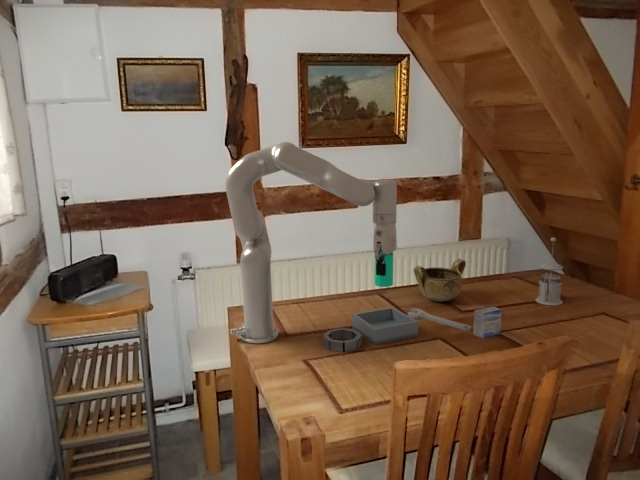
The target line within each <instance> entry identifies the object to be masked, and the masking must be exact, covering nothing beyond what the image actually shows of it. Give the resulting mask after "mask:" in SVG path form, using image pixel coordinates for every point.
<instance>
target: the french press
mask: <svg viewBox="0 0 640 480" xmlns="http://www.w3.org/2000/svg"><path fill="white" fill-rule="evenodd" d="M550 241H552V245H554V243H555V242H556V241H557V238H556V237H551V238H550ZM553 253H554V248H552V251H551V258H554V257H553V255H554V254H553ZM539 267H540V269H543V270H546V271H550V273H548V272H545V273H544V274H541V275H540V278H539V281H538V283H539V284H538V297H536V298H535V299H534V301H535V302H536V303H538V304H541V305H544V306H560V305H562V304H563V303H564V302H563V301H562V299H561V292H562V287H561V286H562V280H561V278H562V277H561V276H559V275H558V274H557V275H556V274H553V273H552V271H553V272H554V271H561V270H562V269H564V267H563V266H562V265H561V264H559V263H557V262H553V261H549V262H543V263H541V264H540V265H539Z"/></svg>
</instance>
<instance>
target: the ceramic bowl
mask: <svg viewBox="0 0 640 480" xmlns="http://www.w3.org/2000/svg"><path fill="white" fill-rule="evenodd" d="M466 265H467V262H466V260H464V259H462V258H456V259H455V260H454V262H453V263H452V265H451V267H448V268H447V267H440V266H439V267H438V266H436V267H435V266H434V267H433V266H432V267H426V268H424V267H423V266H420V265H415V266H414V268H413V273H414V277H415V279H416V281H417V285H418V288H419V290H420V292H421V293H422V295H423V296H424V297H426V298H427V299H428V300H430V301H433V302H437V303H438V302H439V303H440V302H441V303H442V302H448V301H451V300H453V299H454V298H456V297H457V296H458V295H459V293H460V292H461V290H462V286H463V277H462V275H463V274H464V273H463V272H464V270H465V268H466Z"/></svg>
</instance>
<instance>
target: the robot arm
mask: <svg viewBox="0 0 640 480" xmlns="http://www.w3.org/2000/svg"><path fill="white" fill-rule="evenodd" d="M281 171H283V172H286V173H287V174H290V175H292V176H294V177H296V178H299V179H301V180H303V181H305V182H308V183H309V184H311V185H314V186H316V187H317V188H319V189H321V190H324V191H326V192H328V193H330V194H332V195H334V196H336V197H338V198H340V199H343V200H345V201H347V202H349V203H351V204H354V205H355V206H359V207H366V206H369V205H371V204H372V224H374V227H373V241H372V243H373V246H372V247H373V248H372V249H373V253H374V259H375V258H376V275H381V276H385V275H386V264H385V256H386V255H389V254H391V253H394V252H395V251H396V250H397V248H398V245H397V244H398V243H397V242H398V241H397V226H396V224H397V194H398V192H397V191H398V190H397V188H398V185H397V181H395V180H394V179H389V178H388V179H387V178H386V179H377V180H373V179H363V178H357V177H355V176H353V175H351V174H348V173H347V172H345V171H343V170H341V169H339V167H337V166H335V165H334V164H332V163H331V162H330V161H327V159H324V158H322V157H319V156H317V155H315V154H313V153H311V152H309V151H307V150H304V149H303V148H301V147H299V146H296V145H295V144H294V143H292V142H290V141H283V142H280V143H277V144H275V145H271V146H269V147H266V148H262V149H258V150H257V151H253V152H249V153H247V154H245V155H244V156H243V157H242V158H240V159H239V160H238V161H237V162H235V164H234V165H233V166H232V167H231V168H230V169H229V171H228V174H227V175H226V179H225V193H226V197H227V202H228V206H229V211H230V215H231V219H232V224H233V231H234V232H235V234H236V236H237V237H238V238H239V240H240V243H241V249H242V251H241V254H240V257H239V258H240V259H239V261H240V262H239V264H240V275H241V289H242V305H243V306H242V307H243V320H244V321H243V322H241V325H240V326H239V327H234V328H230V330H229V333H230V335H235V336H237V337H240V340H241V341H243V342H245V343H249V344H265V343H269V342H272V341H274V340H276V339H278V337H279V330H278V329H276V328H274V309H273V308H274V307H273V289H272V271H271V270H272V267H271V264H272V260H271V258H272V246H271V242H270V238H269V233H268V228H267V225H266V221H265V217H264V215H263V213H262V212H261V211H260V210H259V209H258V205H257V200H256V196H255V192H254V185H255V183H256V182H258V181H259V180H260V179H261V178H263V177H265V176H268V175H271V174H274V173H277V172H281ZM380 252H383V254H380ZM380 256H383V259H382V257H380Z"/></svg>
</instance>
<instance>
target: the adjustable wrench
mask: <svg viewBox="0 0 640 480" xmlns="http://www.w3.org/2000/svg"><path fill="white" fill-rule="evenodd" d="M407 316H409V317H411V318H413V319H414V320H418V319H423V320H427V319H428V321H431V322H434V321H435V323H437V324H438V323H439V324H441V325H445V326H449V327H451V328H455V329H459V330H462V331H466V332H470V331H471V330H472V325H468V324H465V323H461V322H458V321H454V320H450V319H447V318H444V317H440V316H437V315H432V314H430V313H428V312H426V311H424V310H423V309H420V308H410V309H409V311H408V312H407Z"/></svg>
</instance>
